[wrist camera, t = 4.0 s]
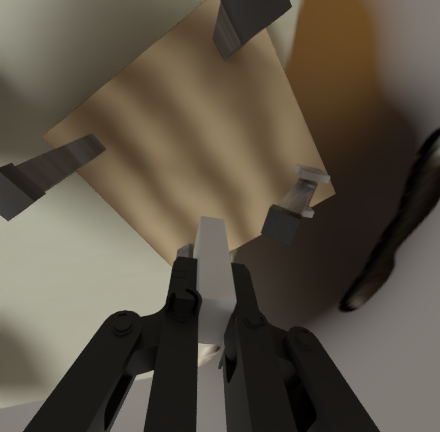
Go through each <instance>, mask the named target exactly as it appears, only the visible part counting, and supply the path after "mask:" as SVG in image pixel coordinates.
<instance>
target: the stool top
mask: <svg viewBox="0 0 440 432" xmlns="http://www.w3.org/2000/svg"><path fill="white" fill-rule="evenodd" d="M291 7H292V5H291V3H290V0H205V1H204V2H203V3H202V4H201V5H199V6H198V7H197V8H196V9H195V10H193V11H192V12H191V13H190V14H189V15H187V16H186V17H185V18H184V19H183V20H181V21H180V22H179V23H178V24H177V25H175V26H174V27H173V28H172V29H171V30H169V31H168V32H167V33H166V34H165V35H163V36H162V37H161V38H160V39H159V40H157V41H156V42H155V43H154V44H153V45H151V46H150V47H149V48H148V49H147V50H145V51H144V52H143V53H142V54H141V55H139V56H138V57H137V58H136V59H135V60H133V61H132V62H131V63H130V64H129V65H127V66H126V67H125V68H124V69H123V70H121V71H120V72H119V73H118V74H117V75H115V76H114V77H113V78H112V79H111V80H109V81H108V82H107V83H106V84H105V85H103V86H102V87H101V88H100V89H99V90H97V91H96V92H95V93H94V94H93V95H91V96H90V97H89V98H88V99H87V100H85V101H84V102H83V103H82V104H81V105H79V106H78V107H77V108H76V109H75V110H73V111H72V112H71V113H70V114H69V115H67V116H66V117H65V118H64V119H63V120H61V121H60V122H59V123H58V124H57V125H55V126H54V127H53V128H52V129H51V130H49V131H48V132H47V133H46V134H45V135H43V136H42V138H43V139H44V140H45V141H46V142H47V143H48V144H49V145H50V146H51V147H52V148H53V149H54V150H52V151H49V152H47V153H45V154H42V155H40V156H38V157H35V158H33V159H31V160H28V161H26V162H24V163H21V164H19V165H17V166H15V165H13V164H12V163H10V164H7V165H5V166H2V167H0V215H1V216H2V217H3V218H5V219H6V220H7V221H9V220H11V219H12V218H14V217H15V216H17V215H18V214H19V213H21V212H22V211H24V210H25V209H26V208H27V207H29V206H30V205H31V204H33V203H34V202H35V201H37V200H38V199H39V198H41V197H42V196H43V195H45V194H46V193H45V192H46V191H47V190H49V189H50V188H52V187H53V186H55V185H56V184H58V183H59V182H60V181H62V180H63V179H65V178H66V177H68V176H69V175H71V174H72V173H74V172H75V171H76V172H77V173H78V174H79V175H80V176H81V177H82V178H83V179H84V180H85V181H86V182H87V183H88V184H89V185H90V186H91V187H92V188H93V189H94V190H95V191H96V192H97V193H98V194H99V195H100V196H101V197H102V198H103V199H104V200H105V201H106V202H107V203H108V204H109V205H110V206H111V207H112V208H113V209H114V210H115V211H116V212H117V213H118V214H119V215H120V216H121V217H122V218H123V219H124V220H125V221H126V222H127V223H128V224H129V225H130V226H131V227H132V228H133V229H134V230H135V231H136V232H137V233H138V234H139V235H140V236H141V237H142V238H143V239H144V240H145V241H146V242H147V243H148V244H149V245H150V246H151V247H152V248H153V249H154V250H155V251H156V252H157V253H158V254H159V255H160V256H161V257H162V258H163V259H164V260H165V261H166V262H167V263H168V264H169V265H170V266H171V267H173V262H174V261H175V260H176V259H177V257H178V256H181V257H189V258H193V252H194V246H195V241H196V236H197V232H198V227H199V222H200V217H201V216H207V217H213V218H219V219H224V222H225V228H226V235H227V241H228V248H229V252H230V251H232V250H234V249H236V248H238V247H239V246H241V245H243V244H245V243H247V242H248V241H250V240H252V239H254V238H256V237H258V236H259V235H261V230H262V227H263V224H264V222H265V219H266V216H267V213H268V210H269V208H270V206H271V205H272V204H275V205H277V204H278V203H279V202H280V200H281V199H282V198H283V197H284V196H285V195H286V194H287V193H288V192H289V191H290V190H291V189H292V187H293V186H294V185H295V184H296V183H297V182H298V179H299V177H301V178H302V179H307V180H312V181H315V182H317V183H318V185H317V187H316V190H315V192H314V194H313V196H312V199H311V201H310V203H309V205H307V207H306V209H305V210H304V212H303V214H302V216H304V217H309V218H312V216H313V214H314V211H313V210H312V209H311V207H312V206H314V205H316V204H318V203H320V202H322V201H323V200H325V199H327V198H329V197H330V196H332V195H334V194H335V191H334V188H333V186H332V184H331V181H330V176H329V175H328V174H327V172H326V169H325V167H324V165H323V162H322V160H321V157H320V155H319V153H318V150H317V148H316V146H315V143H314V141H313V139H312V136H311V134H310V131H309V129H308V127H307V124H306V122H305V120H304V117H303V115H302V112H301V110H300V108H299V105H298V103H297V101H296V98H295V96H294V93H293V91H292V89H291V86H290V84H289V82H288V79H287V77H286V75H285V72H284V70H283V67H282V65H281V63H280V60H279V58H278V56H277V53H276V51H275V48H274V46H273V44H272V41H271V39H270V37H269V34H268V32H267V30H266V27H267V26H268V25H270V24H271V23H272V22H274V21H275V20H276V19H278V18H279V17H280V16H282V15H283V14H284V13H285V12H287V11H288V10H289V9H290V8H291Z"/></svg>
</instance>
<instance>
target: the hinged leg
mask: <svg viewBox="0 0 440 432" xmlns="http://www.w3.org/2000/svg"><path fill="white" fill-rule="evenodd" d="M317 185H318V183H317V182H315V181H312V180H307V179H302V178H301V177H299V179H298V182H297V183H296V184H295V185H294V186H293V187H292V189H291V190H290V191H289V192H288V193H287V194H286V195H285V196H284V197H283V198H282V199H281V200H280V202H279V203H278V204H277V205H275V204H272V205H271V206H270V208H269V210H268V213H267V216H266V219H265V222H264V224H263V227H262V230H261V234H263V235H265V236H268V237H270V238H272V239H274V240H276V241H279V242H281V243H283V244H285V245H287V246H289V244H290V242H291V240H292V238H293V236H294V233H295V231H296V228H297V226H298V224H299V222H300V220H301V217H302V214H303V212H304V210H305V209H306V207H307V205H309V203H310V201H311V199H312V196H313V194H314V192H315V190H316V187H317Z"/></svg>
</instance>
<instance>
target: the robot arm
mask: <svg viewBox="0 0 440 432" xmlns="http://www.w3.org/2000/svg"><path fill="white" fill-rule="evenodd" d="M223 339H224V344H225V349H224V352H223V354H222V357H221V360H220V362H219V368H218V369H221V367H222V365H223V377H224V394H225V409H226V424H227V432H380V431H379V429H378V428H377V426H376V425H375V423H374V422H373V420H372V419H371V418H370V416H369V414H368V413H367V411H366V410H365V409H364V407H363V406H362V404H361V403H360V401H359V400H358V398H357V397H356V395H355V394H354V392H353V391H352V389H351V388H350V386H349V385H348V383H347V382H346V380H345V379H344V377H343V376H342V374H341V373H340V371H339V370H338V369H337V367H336V366H335V364H334V362H333V361H332V360H331V358H330V357H329V355H328V354H327V352H326V351H325V349H324V348H323V346H322V345H321V343H320V342H319V340H318V339H317V338H316V336H315V335H314V334H313V333H312V332H310V331H309V330H307V329H305V328H303V327H297V326H295V327H292V328H290V330H289V331H288V332H287V331H285V330H282V329H280V328H277V327H275V326H273V325H271V324H270V323H268V321H267V319H266V318H265V316H264V315H263V314H262V313H261V312H260V311H259V308H258V305H257V300H256V296H255V292H254V288H253V284H252V280H251V276H250V272H249V270H248V269H247V268H246V266H245V265H244V264H237V263H231V261H230V255H229V248H228V241H227V235H226V228H225V222H224V219H219V218H213V217H207V216H201V217H200V222H199V227H198V232H197V236H196V241H195V246H194V252H193V258H189V257H181V256H178V257H177V259H176V260H175V261H174V262H173V267H172V273H171V278H170V284H169V290H168V295H167V299H166V304H165V305H164V307H163V308H162V309H161V310H160V311H158V312H157V313H155V314H152V315H148V316H143V317H140V316H139V315H138V314H137V313H135V312H133V311H127V310H124V311H119V312H116V313H114V314H112V315H110V316H109V317H108V318H107V319H106V320H105V321H104V323H103V324H102V325H101V327H100V328H99V329H98V331H97V332H96V333H95V335H94V336H93V338H92V339H91V340H90V342H89V343H88V344H87V346H86V347H85V348H84V350H83V351H82V352H81V354H80V355H79V356H78V358H77V359H76V361H75V362H74V363H73V365H72V366H71V367H70V369H69V370H68V371H67V373H66V374H65V375H64V377H63V378H62V379H61V381H60V382H59V384H58V385H57V386H56V388H55V389H54V390H53V392H52V393H51V394H50V396H49V397H48V398H47V400H46V401H45V403H44V404H43V405H42V407H41V408H40V410H39V411H38V412H37V414H36V415H35V416H34V417H33V419H32V420H31V421H30V423H29V424H28V425H27V427H26V428H25V430H24V431H23V432H110V430H111V428H112V426H113V424H114V421H115V419H116V417H117V415H118V413H119V411H120V409H121V407H122V405H123V403H124V400H125V398H126V396H127V394H128V392H129V390H130V388H131V386H132V384H133V381H134V379H135V377H136V375H139V374H142V373H146V372H149V371H152V370H154V374H153V380H152V386H151V392H150V397H149V403H148V409H147V414H146V420H145V426H144V432H196V414H197V368H198V343H202V344H215V345H222V342H223Z"/></svg>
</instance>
